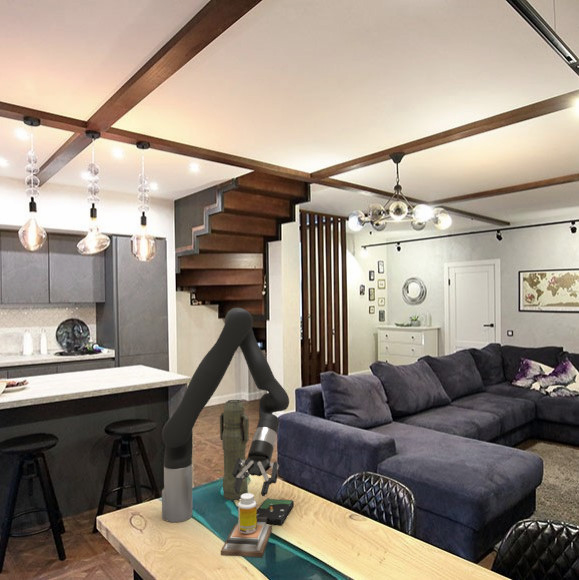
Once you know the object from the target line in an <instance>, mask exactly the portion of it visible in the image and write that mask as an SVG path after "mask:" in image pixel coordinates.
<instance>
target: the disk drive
mask: <svg viewBox="0 0 579 580" xmlns="http://www.w3.org/2000/svg"><path fill="white" fill-rule="evenodd" d="M294 502H295V501H294V500H293V499H281V498H279V499H276V498H270V497H268V498H265V499H264V500H263V502H262V503H261V504H260V505H259V507H258V508H257V517H267V522H266V525H267V524H269V526H276V525H277V527H283V525H284V523H285V522H286V520H287V518H288V517H287V516H289V515H290V514H291V512H292V511H293V508H294V505H295V503H294ZM291 510H292V511H291Z"/></svg>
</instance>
